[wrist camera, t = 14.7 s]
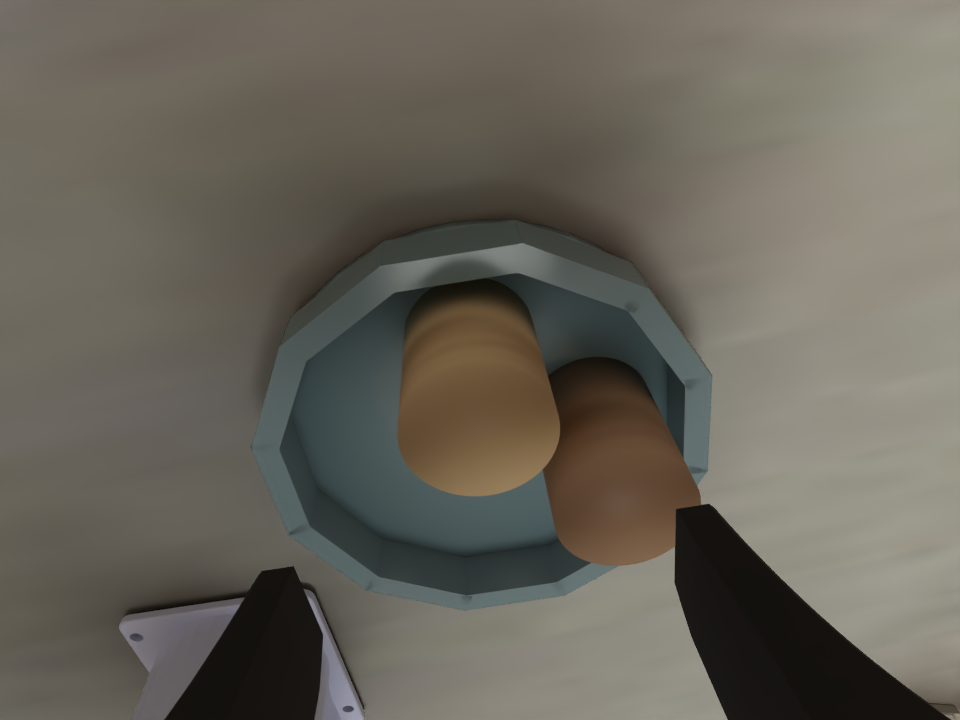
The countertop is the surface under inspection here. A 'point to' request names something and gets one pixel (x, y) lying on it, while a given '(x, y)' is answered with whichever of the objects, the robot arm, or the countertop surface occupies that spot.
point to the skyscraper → (948, 711)
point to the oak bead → (474, 391)
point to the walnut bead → (613, 466)
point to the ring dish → (375, 408)
